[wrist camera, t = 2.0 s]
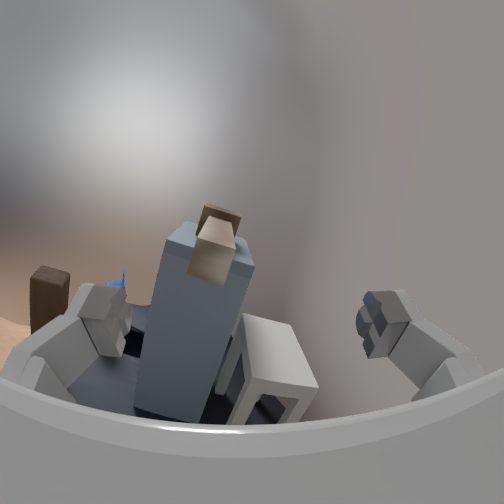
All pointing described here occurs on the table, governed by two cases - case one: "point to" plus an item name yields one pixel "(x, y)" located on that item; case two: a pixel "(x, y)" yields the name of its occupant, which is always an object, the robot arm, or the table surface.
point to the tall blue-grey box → (188, 329)
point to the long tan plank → (214, 244)
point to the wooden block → (47, 296)
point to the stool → (268, 369)
